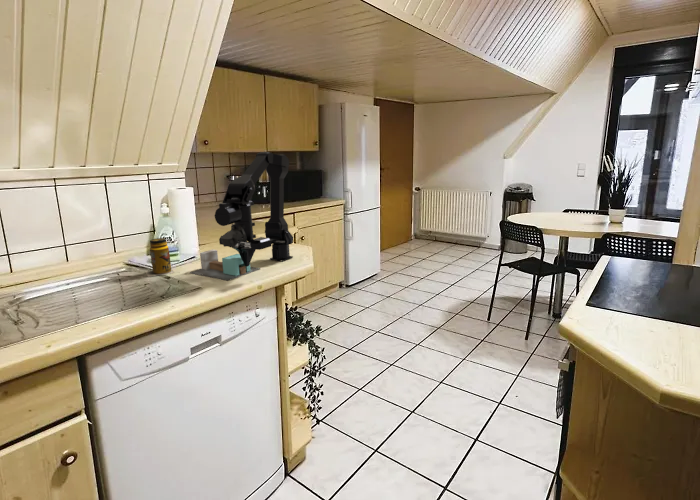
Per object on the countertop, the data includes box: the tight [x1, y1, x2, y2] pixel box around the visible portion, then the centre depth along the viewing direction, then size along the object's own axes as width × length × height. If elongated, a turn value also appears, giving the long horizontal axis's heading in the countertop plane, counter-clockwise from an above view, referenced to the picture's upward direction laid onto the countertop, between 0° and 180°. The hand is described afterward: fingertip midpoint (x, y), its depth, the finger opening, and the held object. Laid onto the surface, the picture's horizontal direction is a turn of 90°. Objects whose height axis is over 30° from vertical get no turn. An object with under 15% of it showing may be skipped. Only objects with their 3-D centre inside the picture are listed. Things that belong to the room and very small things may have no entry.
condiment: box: [144, 237, 175, 278], centre depth 141 cm, size 7×8×12 cm
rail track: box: [189, 249, 261, 282], centre depth 142 cm, size 15×19×6 cm
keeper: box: [221, 253, 251, 276], centre depth 139 cm, size 7×6×5 cm
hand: (247, 266), depth 136 cm, fingers closed
